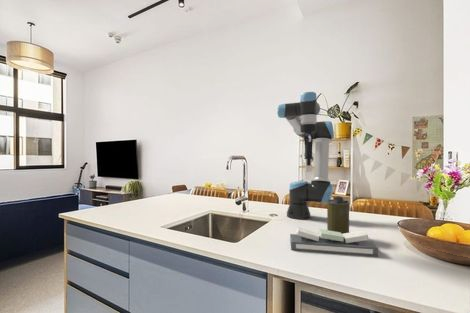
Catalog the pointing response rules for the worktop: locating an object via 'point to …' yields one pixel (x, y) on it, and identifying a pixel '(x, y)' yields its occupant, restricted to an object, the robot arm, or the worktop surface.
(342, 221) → the canister
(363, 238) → the block
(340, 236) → the rocker mid
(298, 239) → the rocker switch panel
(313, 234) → the block
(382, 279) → the worktop surface
